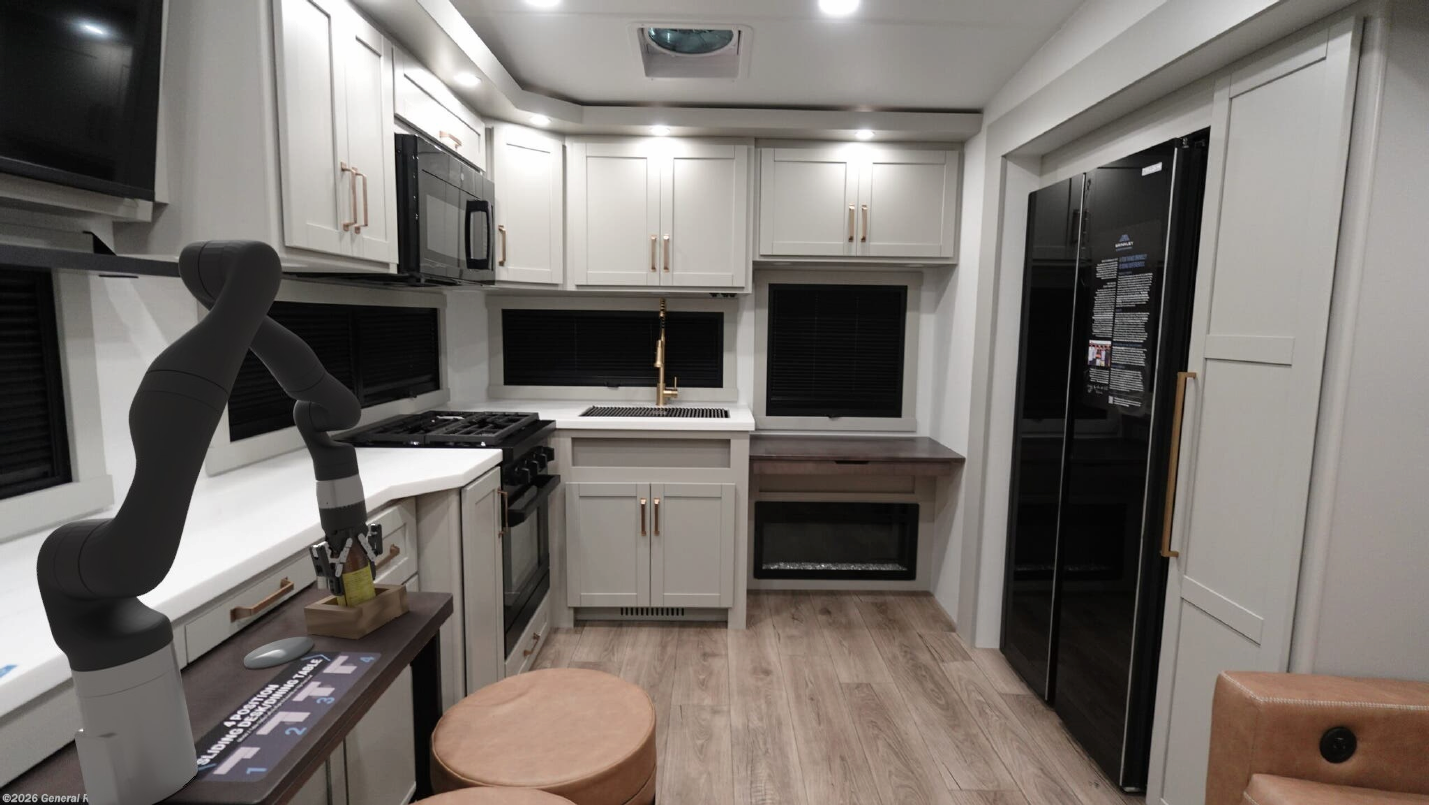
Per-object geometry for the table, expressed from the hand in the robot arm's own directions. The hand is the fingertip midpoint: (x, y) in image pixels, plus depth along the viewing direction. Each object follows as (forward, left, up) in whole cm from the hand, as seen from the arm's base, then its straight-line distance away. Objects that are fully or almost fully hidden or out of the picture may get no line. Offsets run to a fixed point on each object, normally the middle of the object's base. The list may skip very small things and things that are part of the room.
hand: (355, 587), depth 125 cm
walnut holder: (0, 0, -7) cm, 7 cm away
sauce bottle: (0, 0, -7) cm, 7 cm away
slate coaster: (-13, +4, -7) cm, 15 cm away
